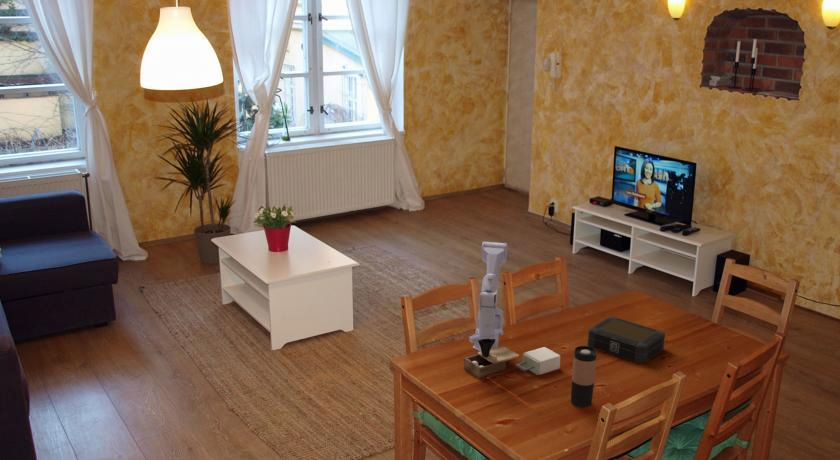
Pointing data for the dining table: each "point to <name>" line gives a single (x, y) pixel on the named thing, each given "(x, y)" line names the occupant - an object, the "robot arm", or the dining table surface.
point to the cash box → (626, 339)
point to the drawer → (529, 364)
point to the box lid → (499, 355)
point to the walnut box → (482, 371)
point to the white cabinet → (545, 359)
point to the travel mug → (583, 376)
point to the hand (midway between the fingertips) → (485, 356)
